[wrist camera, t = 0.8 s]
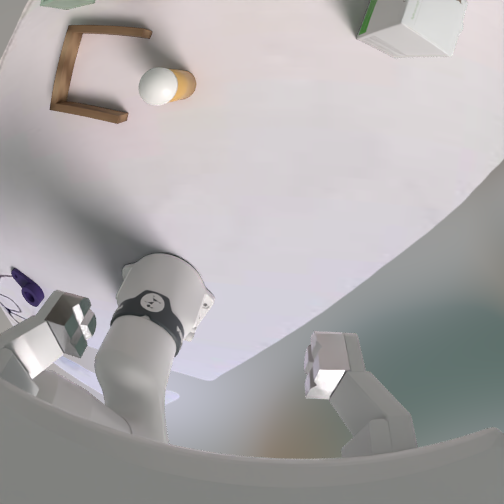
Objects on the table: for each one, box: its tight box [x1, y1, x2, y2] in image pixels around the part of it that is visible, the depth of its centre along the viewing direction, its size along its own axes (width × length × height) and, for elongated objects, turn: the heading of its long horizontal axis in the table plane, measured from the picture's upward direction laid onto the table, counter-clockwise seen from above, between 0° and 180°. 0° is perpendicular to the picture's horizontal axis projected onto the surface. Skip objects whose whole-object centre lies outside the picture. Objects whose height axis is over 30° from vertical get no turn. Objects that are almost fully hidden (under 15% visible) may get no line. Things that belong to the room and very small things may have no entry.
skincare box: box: [357, 0, 468, 58], centre depth 21 cm, size 8×7×16 cm
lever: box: [11, 268, 44, 307], centre depth 58 cm, size 12×6×3 cm, turn 47°
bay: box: [50, 25, 152, 124], centre depth 32 cm, size 14×14×3 cm
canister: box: [139, 67, 196, 106], centre depth 31 cm, size 5×5×9 cm
